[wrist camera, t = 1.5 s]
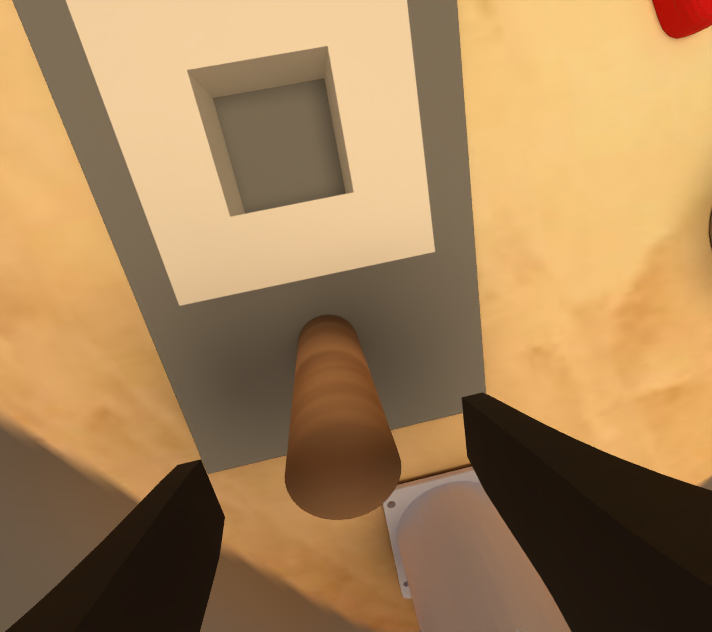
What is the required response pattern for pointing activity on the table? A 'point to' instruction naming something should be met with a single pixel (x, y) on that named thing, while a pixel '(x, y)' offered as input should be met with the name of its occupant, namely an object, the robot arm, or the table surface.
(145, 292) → the mat
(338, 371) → the peg
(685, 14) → the popsicle
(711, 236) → the canned tomato
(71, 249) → the table surface
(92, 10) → the hole block
